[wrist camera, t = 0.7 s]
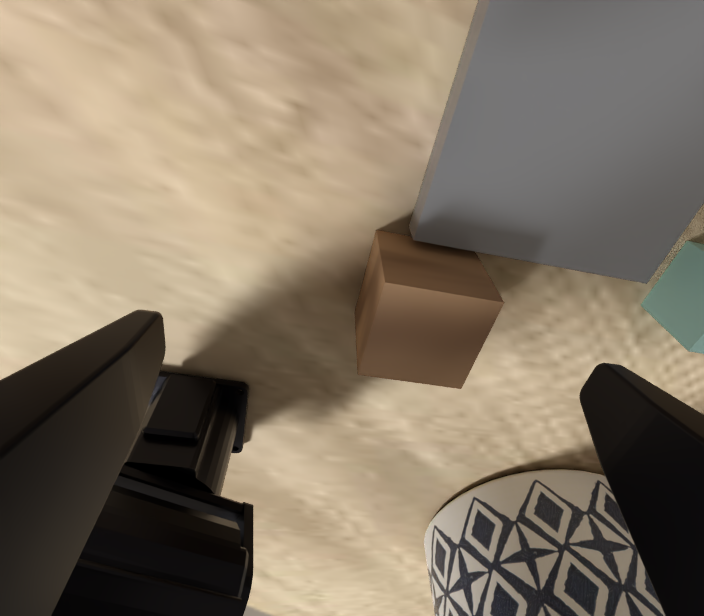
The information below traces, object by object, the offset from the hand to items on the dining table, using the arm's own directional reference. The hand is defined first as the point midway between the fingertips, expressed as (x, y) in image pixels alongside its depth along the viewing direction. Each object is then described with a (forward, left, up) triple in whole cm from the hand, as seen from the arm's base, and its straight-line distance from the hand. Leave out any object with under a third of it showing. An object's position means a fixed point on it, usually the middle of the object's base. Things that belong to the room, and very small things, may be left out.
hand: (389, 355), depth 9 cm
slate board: (+4, -9, -12) cm, 16 cm away
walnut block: (-5, -4, -13) cm, 14 cm away
